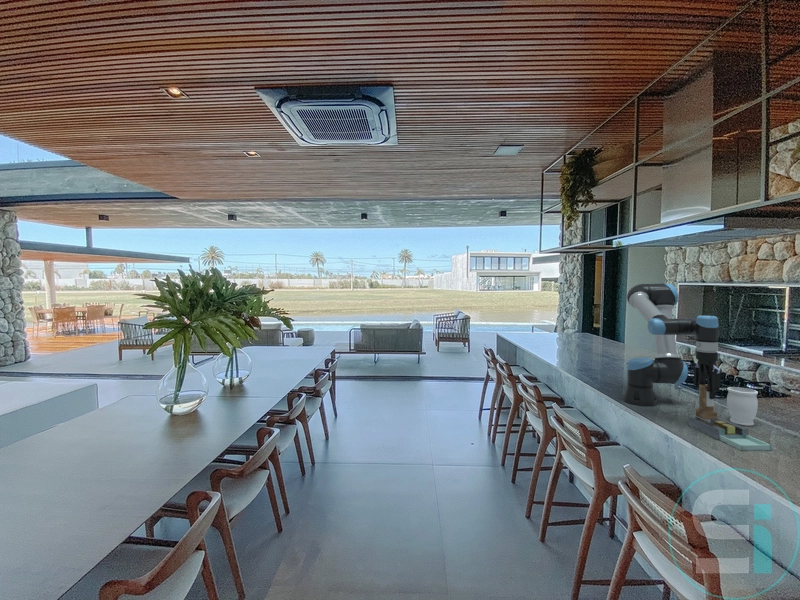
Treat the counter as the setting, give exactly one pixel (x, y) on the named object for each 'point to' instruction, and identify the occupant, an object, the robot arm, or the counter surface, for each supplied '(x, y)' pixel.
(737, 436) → the slot board
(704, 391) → the stepped wooden block
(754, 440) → the tray
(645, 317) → the robot arm
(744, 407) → the jar
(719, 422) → the chip
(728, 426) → the yellow sponge cube
